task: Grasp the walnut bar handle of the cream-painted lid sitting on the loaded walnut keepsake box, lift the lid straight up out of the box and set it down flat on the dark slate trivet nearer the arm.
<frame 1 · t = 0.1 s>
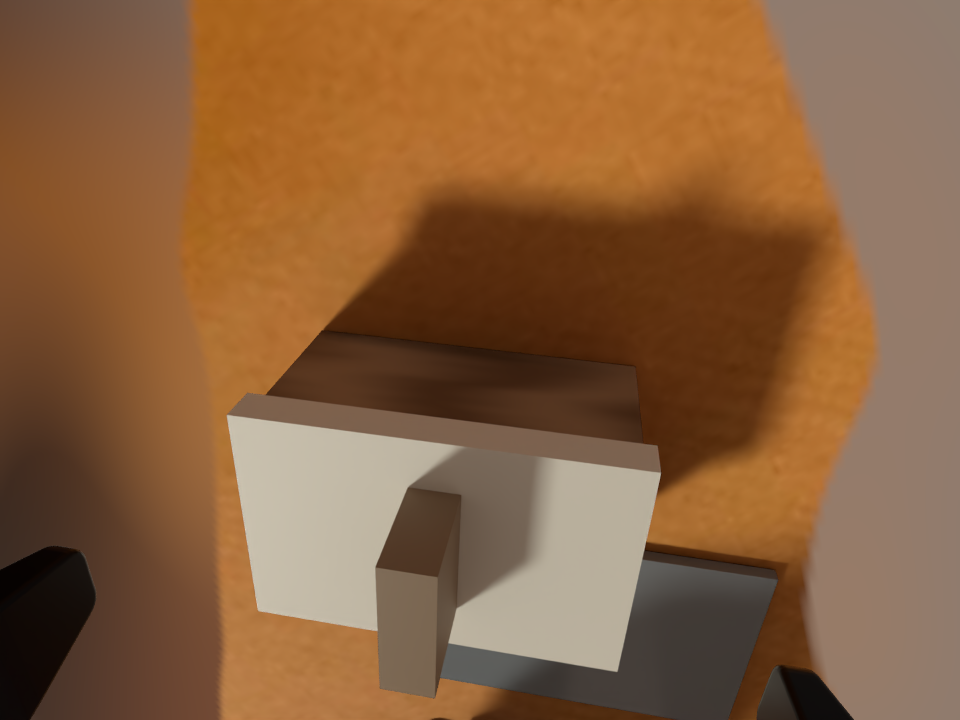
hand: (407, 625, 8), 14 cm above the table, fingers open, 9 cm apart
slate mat: (589, 623, 28), on the table
keepsake box: (470, 431, 24), on the table
lid: (442, 522, 20), point 5 cm above the table, touching keepsake box
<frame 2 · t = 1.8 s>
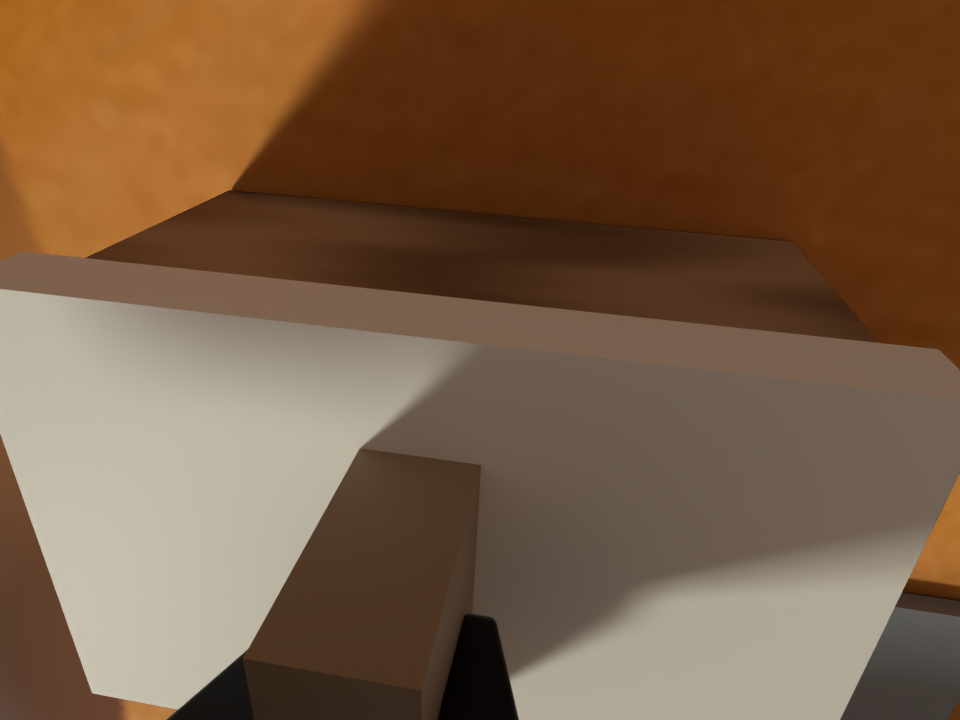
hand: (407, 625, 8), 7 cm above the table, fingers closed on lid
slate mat: (668, 684, 18), on the table
keepsake box: (487, 372, 14), on the table
lid: (437, 528, 10), point 5 cm above the table, touching gripper, keepsake box
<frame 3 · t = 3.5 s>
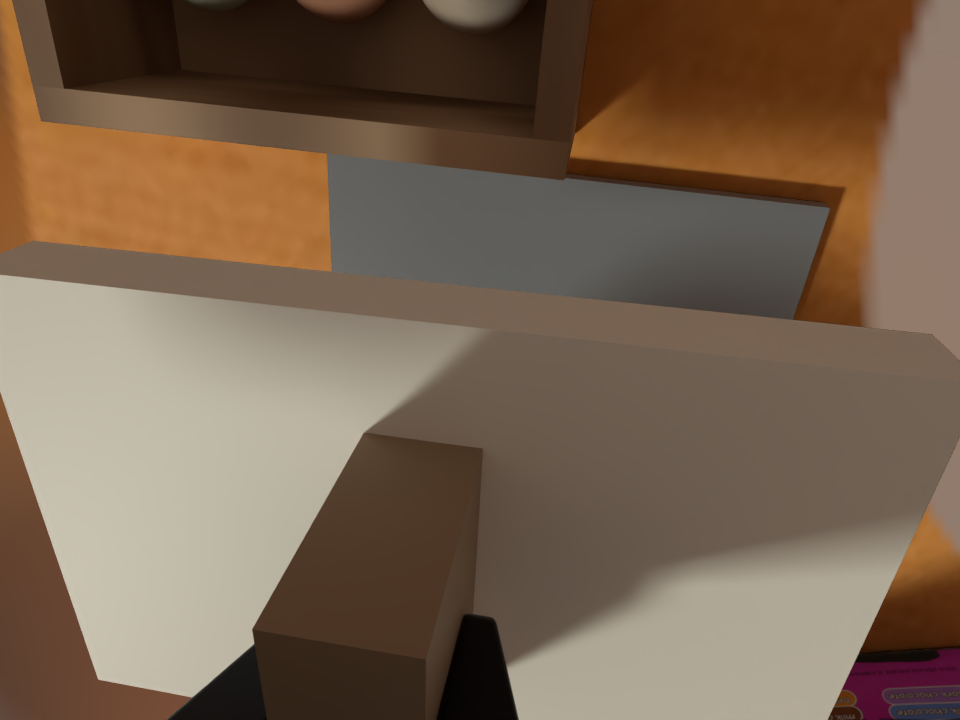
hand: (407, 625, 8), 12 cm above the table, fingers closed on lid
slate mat: (548, 326, 20), on the table
candy bar box: (814, 691, 25), on the table
lid: (440, 514, 10), point 10 cm above the table, touching gripper
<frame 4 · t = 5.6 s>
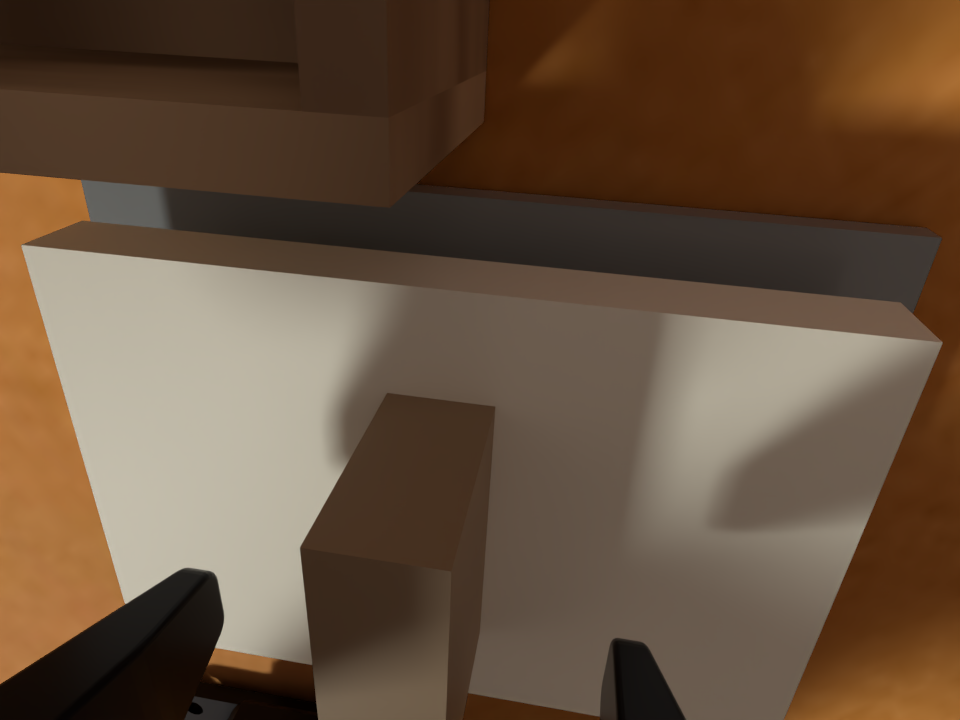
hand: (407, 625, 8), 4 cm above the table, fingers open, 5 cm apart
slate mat: (469, 430, 12), on the table
lid: (453, 475, 11), point 1 cm above the table, touching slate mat
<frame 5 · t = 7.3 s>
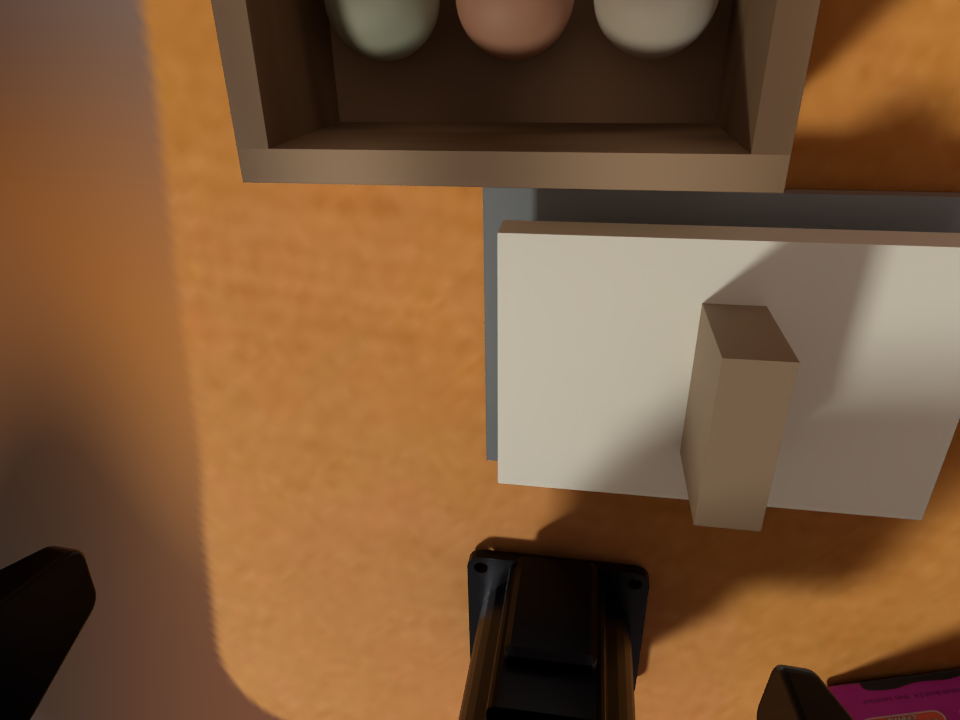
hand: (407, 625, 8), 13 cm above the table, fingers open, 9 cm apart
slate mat: (705, 342, 19), on the table
lid: (713, 362, 18), point 1 cm above the table, touching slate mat
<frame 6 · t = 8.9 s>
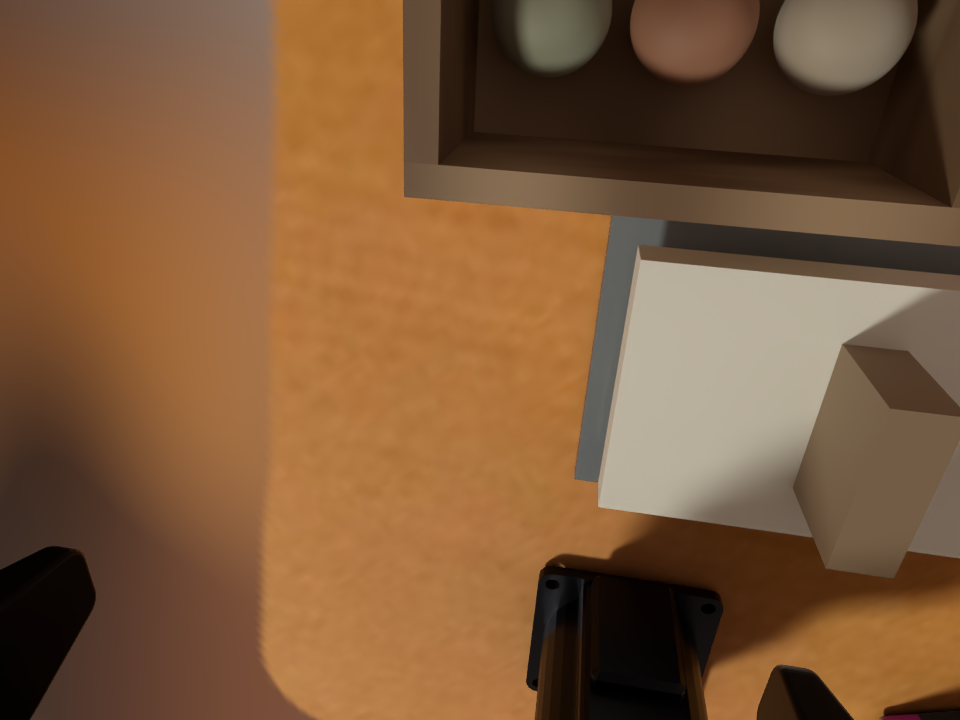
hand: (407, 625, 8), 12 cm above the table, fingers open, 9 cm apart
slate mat: (815, 376, 19), on the table
keepsake box: (682, 19, 16), on the table
lid: (832, 400, 18), point 1 cm above the table, touching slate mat
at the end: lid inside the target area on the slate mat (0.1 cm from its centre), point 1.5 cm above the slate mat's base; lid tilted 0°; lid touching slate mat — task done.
